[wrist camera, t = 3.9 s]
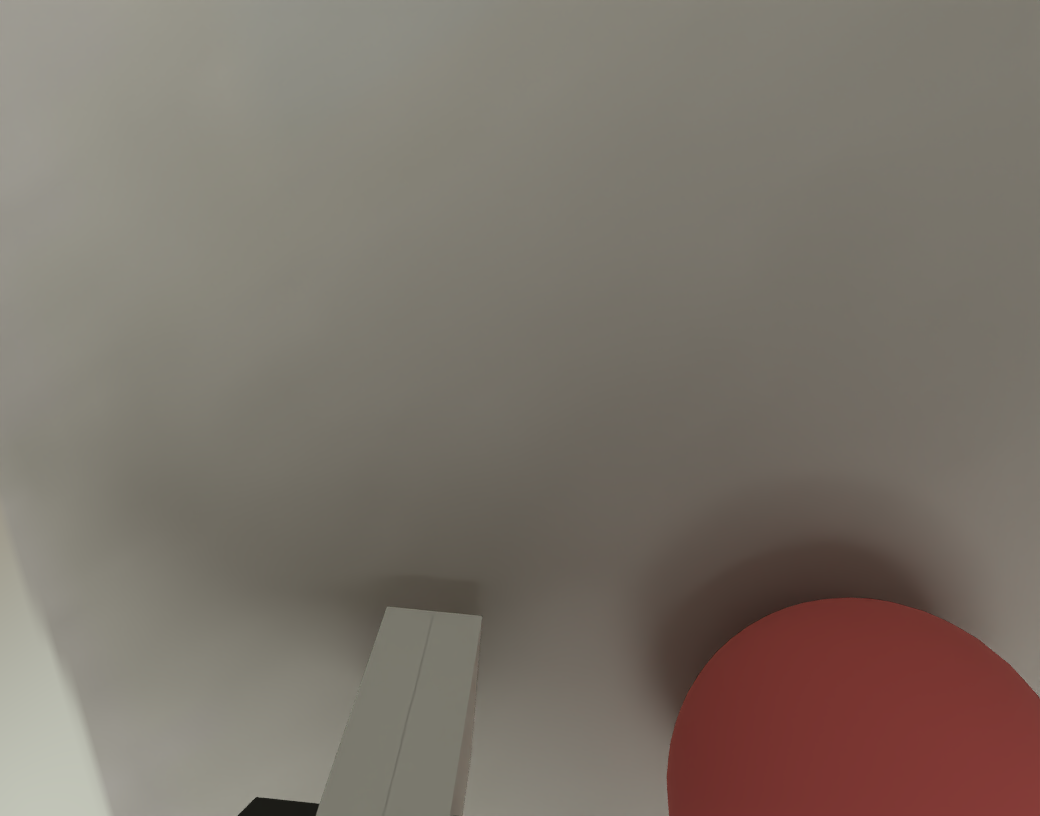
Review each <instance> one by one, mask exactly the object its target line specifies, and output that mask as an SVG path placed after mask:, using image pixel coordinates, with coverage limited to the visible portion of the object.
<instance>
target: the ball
mask: <svg viewBox="0 0 1040 816" xmlns="http://www.w3.org/2000/svg"><path fill="white" fill-rule="evenodd" d="M667 791H668V807H669V816H1040V698H1039V697H1038V695H1037V694H1036V693H1035V692H1034V691H1033V690H1032V689H1031V687H1030V686H1029V685H1028V684H1027V683H1026V682H1025V681H1024V680H1023V679H1022V677H1021V676H1020V675H1019V674H1018V673H1017V672H1016V671H1015V670H1014V669H1013V668H1012V667H1011V665H1010V664H1008V663H1007V662H1006V661H1005V660H1003V659H1002V658H1001V657H1000V656H998V655H997V654H996V653H995V652H993V651H992V650H991V649H990V648H988V647H987V646H986V645H985V644H983V643H982V642H981V641H980V640H978V639H977V638H975V637H974V636H972V635H970V634H969V633H967V632H965V631H964V630H962V629H960V628H958V627H957V626H955V625H953V624H951V623H949V622H947V621H945V620H944V619H941V618H939V617H936V616H934V615H932V614H929V613H927V612H925V611H922V610H918V609H915V608H911V607H908V606H904V605H900V604H897V603H893V602H889V601H883V600H876V599H870V598H834V599H821V600H816V601H810V602H805V603H801V604H797V605H794V606H790V607H787V608H784V609H781V610H779V611H777V612H774V613H772V614H769V615H767V616H765V617H763V618H762V619H760V620H758V621H756V622H754V623H753V624H751V625H749V626H748V627H746V628H745V629H744V630H742V631H741V632H739V633H738V634H737V635H735V636H734V637H732V638H731V639H730V640H729V641H728V642H727V643H726V644H724V645H723V646H722V647H721V648H720V649H719V650H718V651H717V652H716V653H715V654H714V655H713V657H712V658H711V659H710V660H709V661H708V663H707V664H706V665H705V666H704V668H703V669H702V671H701V672H700V674H699V675H698V677H697V678H696V680H695V681H694V683H693V685H692V686H691V688H690V689H689V691H688V693H687V695H686V698H685V700H684V702H683V704H682V707H681V709H680V712H679V715H678V717H677V720H676V723H675V727H674V731H673V735H672V738H671V743H670V751H669V758H668V769H667Z"/></svg>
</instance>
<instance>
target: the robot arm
mask: <svg viewBox="0 0 1040 816" xmlns="http://www.w3.org/2000/svg"><path fill="white" fill-rule="evenodd" d="M481 626H482V616H477V615H467V614H458V613H448V612H438V611H428V610H418V609H408V608H398V607H389V606H387V608H386V611H385V614H384V617H383V620H382V622H381V625H380V628H379V631H378V634H377V637H376V640H375V643H374V646H373V649H372V652H371V655H370V658H369V661H368V664H367V666H366V669H365V672H364V675H363V678H362V681H361V684H360V687H359V690H358V693H357V696H356V699H355V702H354V705H353V708H352V710H351V713H350V716H349V719H348V722H347V725H346V728H345V731H344V734H343V737H342V740H341V743H340V746H339V749H338V752H337V754H336V757H335V760H334V763H333V766H332V769H331V772H330V775H329V778H328V781H327V784H326V787H325V790H324V793H323V796H322V798H321V801H320V804H316V803H307V802H297V801H288V800H278V799H269V798H259V797H256V798H255V799H254V800H253V801H252V802H251V803H250V804H249V805H248V806H247V807H246V808H245V809H244V810H243V811H242V812H241V813H240V814H239V815H238V816H462V815H463V808H464V801H465V794H466V787H467V780H468V773H469V767H470V760H471V751H472V738H473V726H474V713H475V701H476V688H477V676H478V663H479V651H480V638H481Z"/></svg>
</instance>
